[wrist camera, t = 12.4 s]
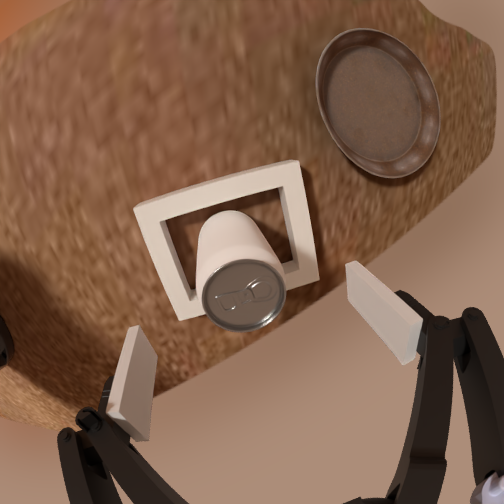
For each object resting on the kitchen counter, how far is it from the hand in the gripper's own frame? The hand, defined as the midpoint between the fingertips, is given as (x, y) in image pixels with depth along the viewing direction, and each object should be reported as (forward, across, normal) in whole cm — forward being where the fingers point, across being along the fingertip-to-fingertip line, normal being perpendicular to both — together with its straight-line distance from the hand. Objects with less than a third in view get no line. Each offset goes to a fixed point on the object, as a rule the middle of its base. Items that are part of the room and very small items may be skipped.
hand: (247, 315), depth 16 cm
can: (+14, 0, 0) cm, 14 cm away
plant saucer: (+14, +20, +11) cm, 27 cm away
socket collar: (+14, 0, 0) cm, 14 cm away
